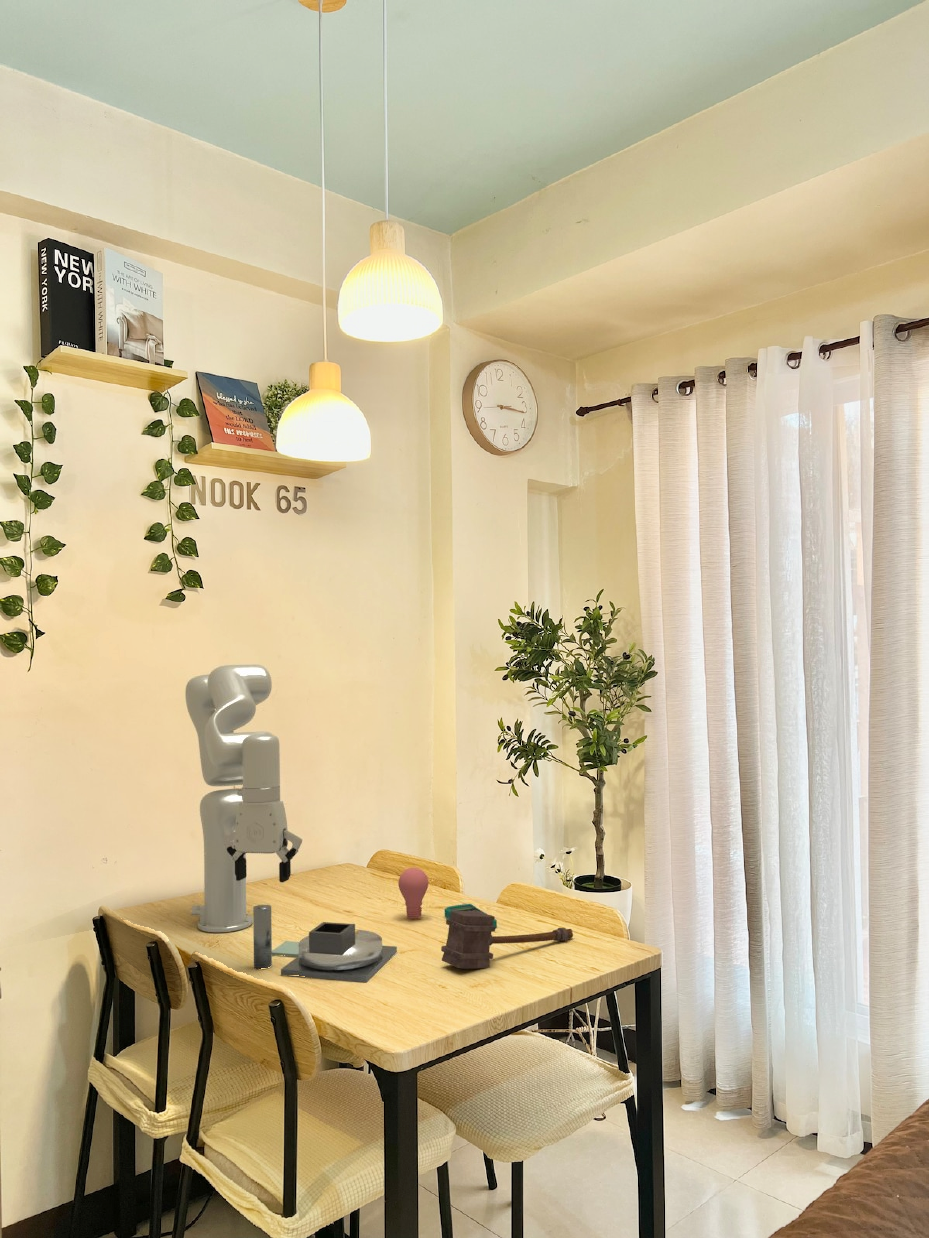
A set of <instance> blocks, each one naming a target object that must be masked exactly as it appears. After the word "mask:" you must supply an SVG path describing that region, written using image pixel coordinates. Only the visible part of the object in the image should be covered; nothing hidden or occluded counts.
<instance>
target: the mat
mask: <svg viewBox="0 0 929 1238" xmlns="http://www.w3.org/2000/svg"><path fill="white" fill-rule="evenodd" d="M299 942H300V941H290V940H285V941H283V943H281V944H279V945H278V946H277V947H275V948H274V949H272V956H275V955H283V956H282V957H288V956H297V957H298V956H299ZM284 955H285V956H284Z"/></svg>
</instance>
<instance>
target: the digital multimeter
mask: <svg viewBox="0 0 929 1238" xmlns="http://www.w3.org/2000/svg"><path fill="white" fill-rule="evenodd" d="M450 911H480V912H482V913H485V914H487V913H486V912H484V911H483V910H481V909H479V908H477V906H475V905H473V904H472V903H464V904H456V905H451V906H447V907H445V909H444V917H445V918H446V919H450ZM497 923H498V921H497V919H495V917H494V922H493V926H495V927H496V928H495V929H497V928H498V925H497Z"/></svg>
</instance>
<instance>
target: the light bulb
mask: <svg viewBox="0 0 929 1238" xmlns="http://www.w3.org/2000/svg"><path fill="white" fill-rule="evenodd" d="M428 888H429V878H428V876H427V874H426V873H425V871H423V870H422V869H421V868H418V867H409V868H407V869H405V870H404V871H402V873H401V874H400V876H399V877H398V889H399V891H400V894H401V895H402V898H403V899H404V901H405V902H404V905H405V906H406V909H405V911H406V917H407V918H411V919H413V918H415V919H417V918H420V917H422V911H423V910H422V905H423V899H424V897H425V895H426V893H427V891H428Z"/></svg>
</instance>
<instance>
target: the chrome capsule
mask: <svg viewBox="0 0 929 1238" xmlns="http://www.w3.org/2000/svg"><path fill="white" fill-rule="evenodd" d="M252 909H253V910H252V911H253V912H252V913H253V916H252V917H253V923H252V926H253V927H252V928H253V930H252V931H253V969H255V968H256V969H255V970H259V969H261V968H268V967H270V966H271V965H272V966H273V958H272V956H273V955H272V950H273V949H272V947H273V945H272V944H273V943H272V940H273V938H272V928H273V927H272V905H270V904H257V905H255V906H253V908H252ZM270 968H271V967H270ZM268 969H269V968H268Z"/></svg>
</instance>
